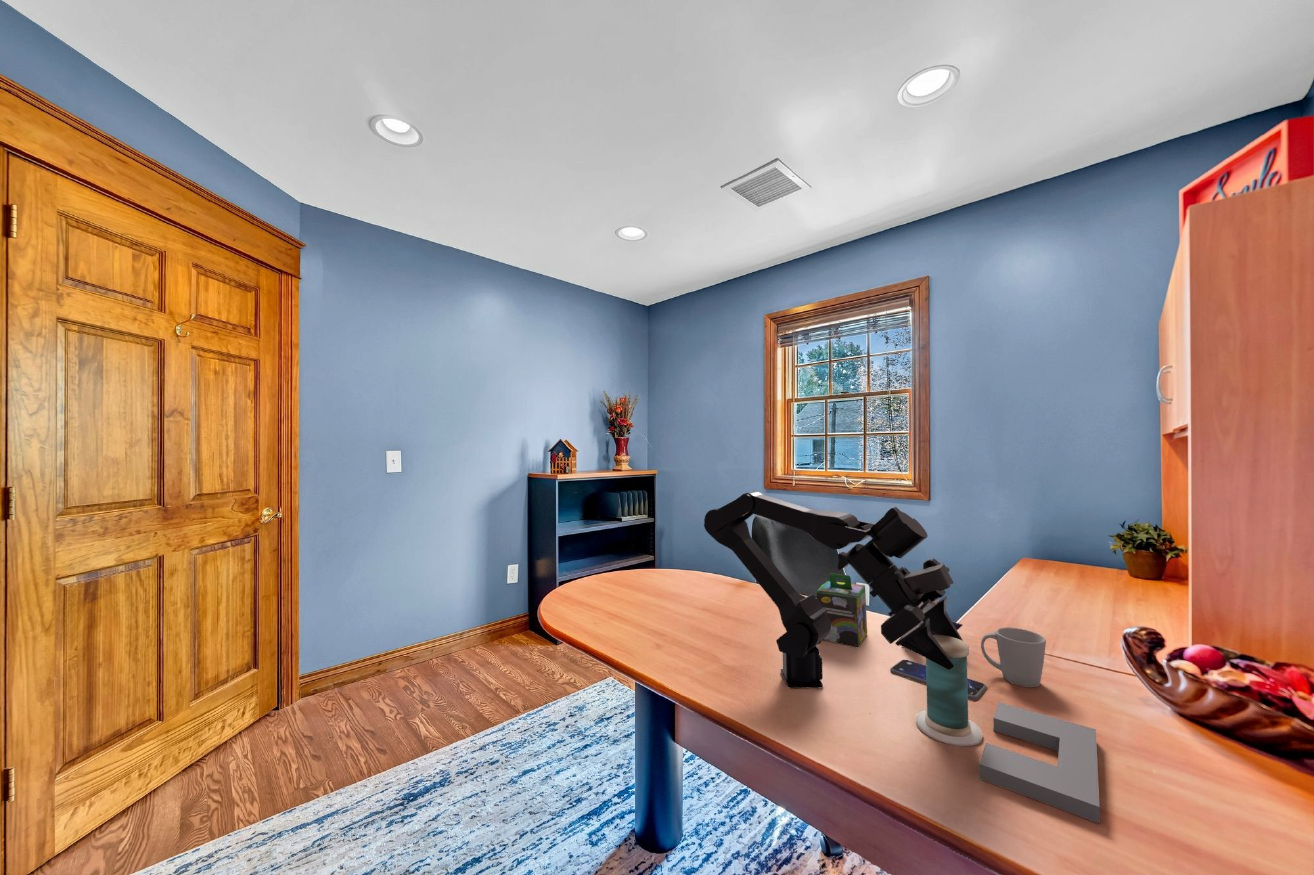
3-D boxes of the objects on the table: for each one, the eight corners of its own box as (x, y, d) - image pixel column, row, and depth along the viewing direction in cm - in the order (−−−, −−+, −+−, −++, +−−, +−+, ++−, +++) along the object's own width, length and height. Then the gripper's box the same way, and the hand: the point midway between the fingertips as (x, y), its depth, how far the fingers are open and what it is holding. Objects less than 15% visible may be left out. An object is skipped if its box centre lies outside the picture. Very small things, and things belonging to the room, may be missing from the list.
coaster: (935, 746, 72) (935, 743, 72) (905, 712, 81) (905, 709, 81) (996, 746, 72) (996, 742, 72) (959, 712, 81) (959, 709, 81)
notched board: (979, 778, 66) (979, 763, 66) (998, 713, 81) (998, 701, 81) (1099, 823, 58) (1099, 806, 58) (1096, 742, 73) (1095, 729, 73)
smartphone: (903, 657, 100) (988, 683, 89) (903, 662, 100) (988, 689, 89) (887, 668, 96) (976, 697, 84) (888, 673, 96) (976, 703, 84)
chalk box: (867, 634, 114) (866, 571, 114) (859, 648, 106) (857, 581, 106) (827, 626, 119) (826, 566, 119) (816, 639, 111) (815, 575, 112)
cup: (1048, 694, 86) (1047, 646, 86) (980, 679, 92) (979, 634, 92) (1045, 677, 92) (1044, 632, 92) (982, 664, 98) (981, 621, 98)
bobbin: (938, 737, 74) (936, 651, 74) (917, 714, 80) (915, 634, 80) (980, 736, 74) (978, 650, 74) (955, 713, 80) (953, 634, 80)
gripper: (901, 556, 72) (992, 650, 65) (930, 536, 87) (1008, 611, 79) (849, 599, 78) (928, 690, 70) (884, 573, 92) (953, 647, 84)
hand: (957, 657), depth 76 cm, fingers open, 9 cm apart
